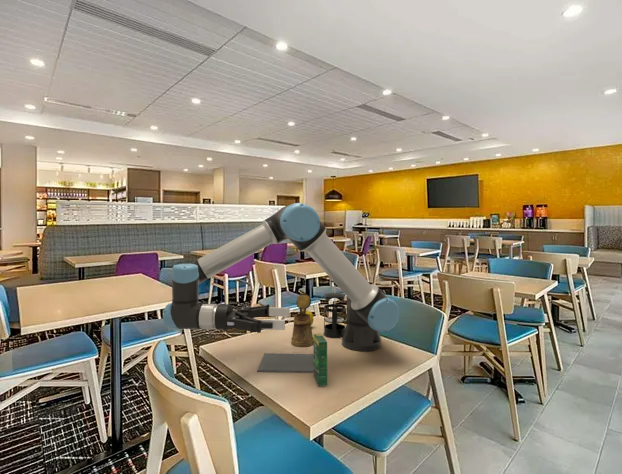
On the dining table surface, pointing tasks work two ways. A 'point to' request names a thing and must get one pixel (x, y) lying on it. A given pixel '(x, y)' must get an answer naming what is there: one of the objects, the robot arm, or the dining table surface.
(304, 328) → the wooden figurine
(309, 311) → the lemon
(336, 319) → the french press
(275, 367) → the mat
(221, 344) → the dining table surface
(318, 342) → the coffee box
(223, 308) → the robot arm
